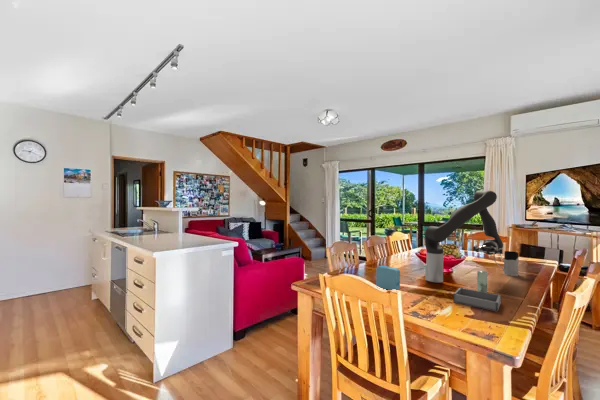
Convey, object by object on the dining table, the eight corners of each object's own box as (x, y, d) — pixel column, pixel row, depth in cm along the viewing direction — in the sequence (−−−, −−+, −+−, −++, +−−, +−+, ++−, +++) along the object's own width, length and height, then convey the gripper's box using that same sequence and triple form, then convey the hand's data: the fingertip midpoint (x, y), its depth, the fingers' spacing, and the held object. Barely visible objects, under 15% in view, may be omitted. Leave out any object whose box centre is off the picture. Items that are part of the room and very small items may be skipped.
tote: (453, 302, 137) (453, 294, 137) (459, 295, 147) (459, 287, 147) (497, 311, 125) (497, 302, 125) (500, 303, 136) (500, 295, 136)
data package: (399, 290, 153) (400, 268, 153) (396, 292, 150) (396, 270, 150) (380, 285, 162) (380, 264, 162) (375, 287, 158) (376, 266, 158)
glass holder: (519, 276, 184) (520, 253, 184) (493, 273, 191) (493, 251, 191) (518, 273, 191) (518, 251, 191) (493, 270, 199) (493, 249, 199)
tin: (476, 294, 148) (476, 271, 148) (477, 292, 152) (478, 270, 151) (486, 296, 145) (486, 273, 145) (487, 294, 149) (487, 271, 149)
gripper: (476, 240, 175) (471, 243, 163) (504, 242, 166) (501, 246, 154) (476, 252, 175) (471, 256, 163) (504, 255, 166) (501, 259, 154)
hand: (486, 251), depth 158 cm, fingers open, 8 cm apart
